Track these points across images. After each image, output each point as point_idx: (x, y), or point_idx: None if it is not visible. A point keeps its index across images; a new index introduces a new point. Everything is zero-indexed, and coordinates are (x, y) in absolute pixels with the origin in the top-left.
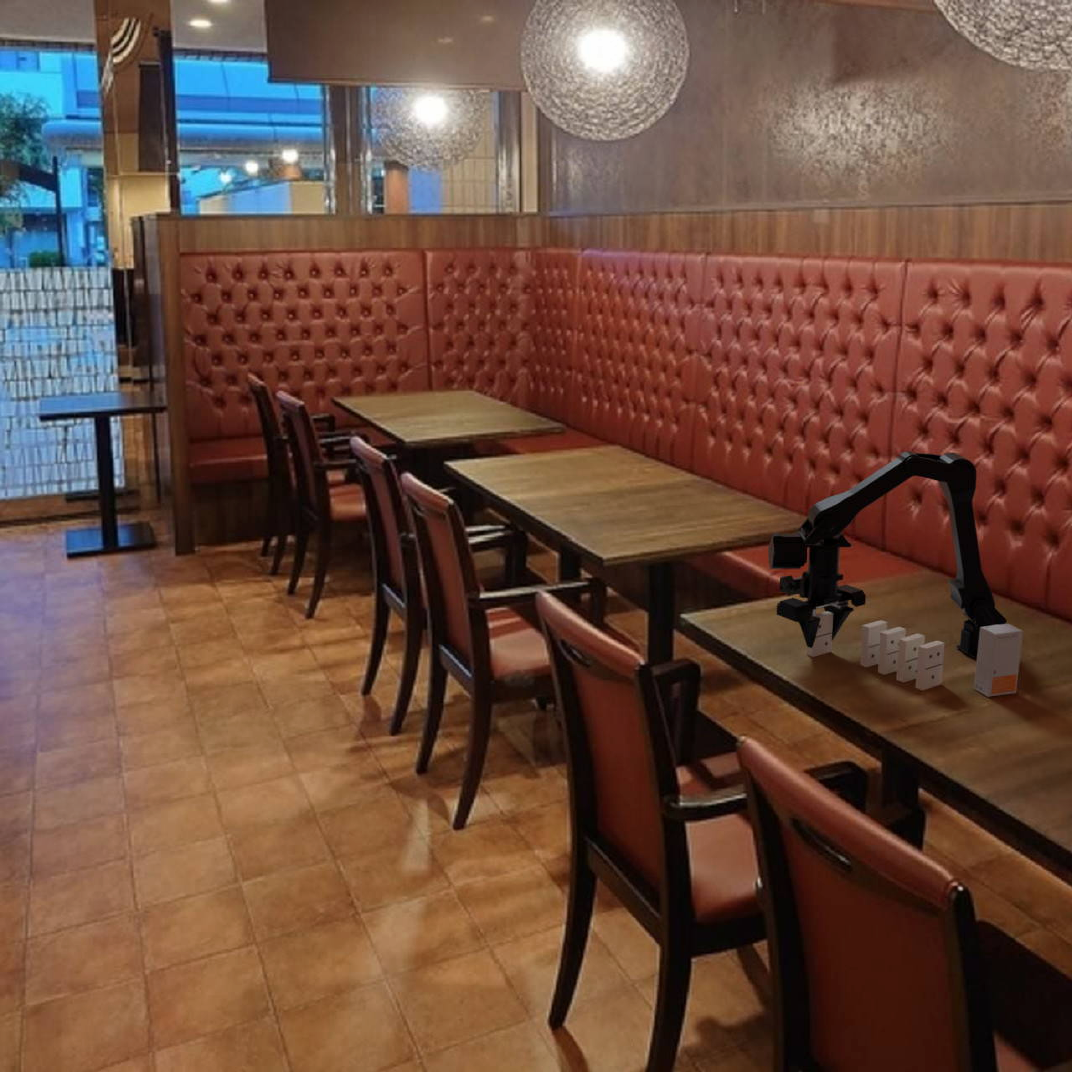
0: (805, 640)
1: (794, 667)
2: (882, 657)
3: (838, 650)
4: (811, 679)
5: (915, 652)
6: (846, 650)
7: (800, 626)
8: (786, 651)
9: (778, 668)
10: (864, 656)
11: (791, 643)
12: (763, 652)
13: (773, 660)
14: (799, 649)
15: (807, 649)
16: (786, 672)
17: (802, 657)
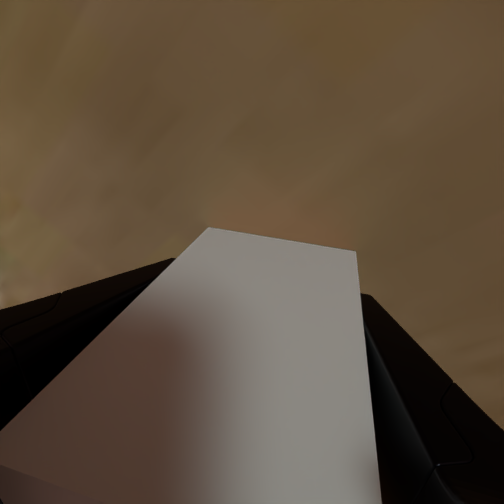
0: (140, 270)
1: (66, 275)
2: None
3: (394, 309)
4: None
5: None
6: (426, 338)
7: (3, 311)
8: (147, 113)
9: (5, 237)
10: None
11: (278, 11)
12: (20, 24)
13: (21, 160)
14: (233, 145)
15: (194, 243)
16: (17, 281)
17: (164, 234)
